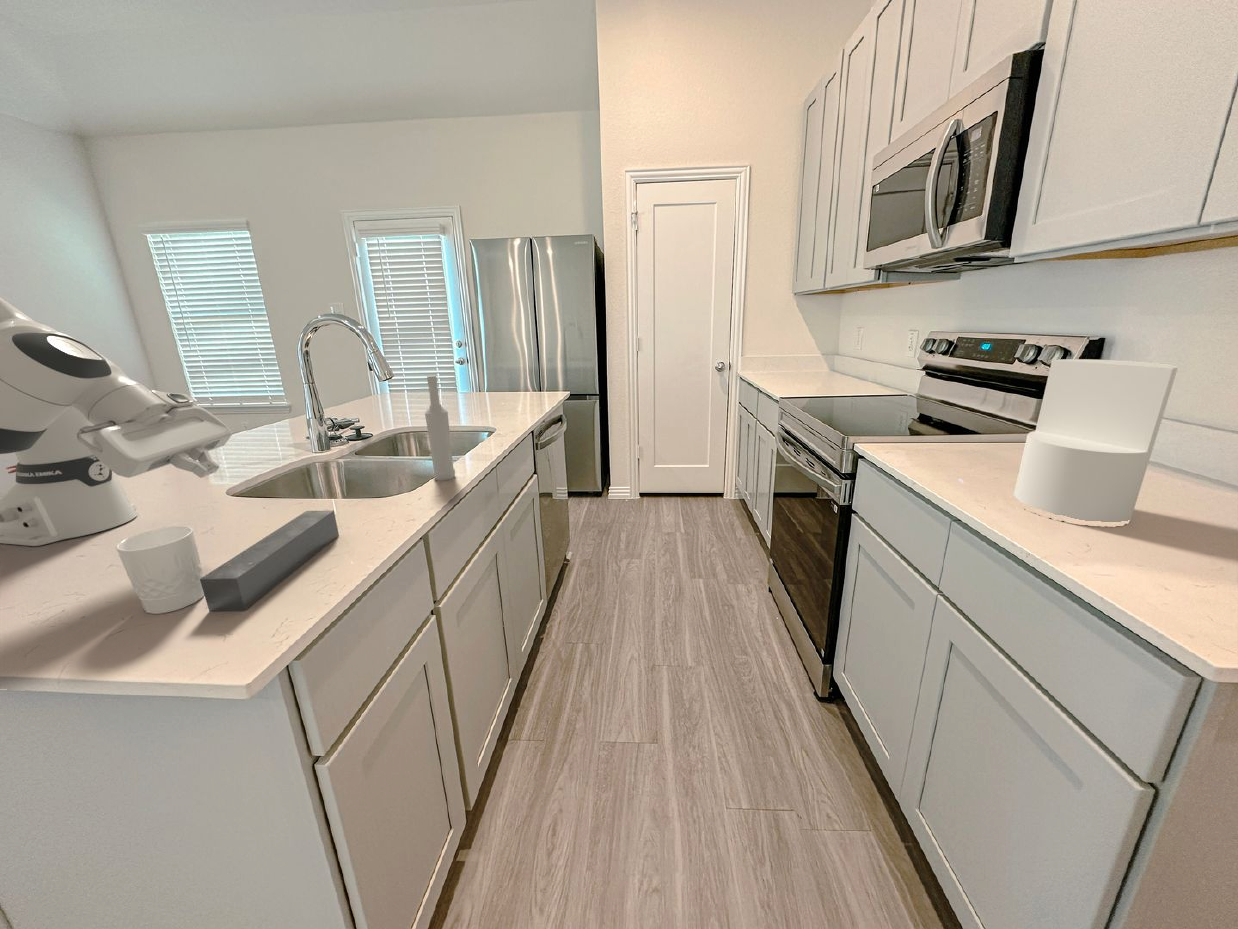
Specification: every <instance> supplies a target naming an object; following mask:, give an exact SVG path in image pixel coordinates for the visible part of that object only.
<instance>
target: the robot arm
mask: <svg viewBox="0 0 1238 929" xmlns="http://www.w3.org/2000/svg"><path fill="white" fill-rule="evenodd" d="M195 403H196V402H195V399H194V398H193V397H192V396H190V395H188V394H186V393H175V392H174V393H173V392H165V391H160V390H156V389H155V390H154V389H149V388H148V387H146V386H145V385H143V384H142V383H140V382H139V381H136V380H133V379H132V378H130V377H129V376H128V375H127V374H126V373H125V372H124V371H123V369H122V368H121V367H120V366H119V365H117V364H116V363H114V362H113V361H112V360H110V358H108V357H106V356H105V355H103V354H102V353H100V352H98V351H97V350H95V349H94V348H92V347H91V346H89V345H87V344H85V343H83V341H81V340H78V339H76V338H75V337H73V336H71V335H69V334H66V333H65V332H60V331H57V330H56V329H54V328H53V327H51V326H49V325H46V324H42V323H39V322H37V321H36V320H34V319H32V318H31V317H30V316H28V315H27V314H26V313H24V312H22V311H21V310H20V309H18V308H17V307H15V306H13V305H12V304H11V303H9V302H8V301H7V300H5V299H3V298H2V297H1V296H0V455H6V454H12V453H13V454H15V456H16V459H17V460H18V462H17V463H16V464H15V465H13V466H12V465H11V466H8V467H6V468H5V469H6V470H9V469H11V470H10V471H8V472H7V473H8V474H13V473H15V484H14V485H13V486H12V487H11V488H10V489H9V490H8V491H7V492H6V493H5V494H3V495H2V496H1V497H0V544H6V545H7V544H8V545H16V546H18V545H19V546H27V547H28V546H31V547H37V546H43V545H47V544H51V543H55V542H60V541H63V540H68V539H74V538H78V537H83V536H87V535H91V534H95V533H98V532H99V533H100V532H103V531H107V530H110V529H113V528H116V527H118V526H121V525H123V524H125V523H128V522H130V521H131V520H133V519H134V518H136V517H137V516H138V512H137V510H136V508H137V507H136V504H135V502H130V500H129V497H128V495H127V493H126V490H125V489H124V487H123V484H122V483H121V481H120V479H119V477H118V476H120V477H123V478H133V477H136V476H137V477H138V476H139V475H142V474H146V473H148V472H152V471H155V470H156V469H161V468H163V467H165V466H168V465H172V466H174V467H175V468H176V469H180V470H182V471H187V472H189V473H190V472H191V473H193V474H194V475H196V476H197V477H198V478H200V479H201V478H204V477H207V476H210V475H212V474H214V473H216V472H217V471H218V470H219V469H220V465H219V464H218V463H216V461H214V460H212V457H211V455H210V453H209V452H210V451H213V450H217V449H218V448H221V447H222V448H223V447H224V446H225V445H226V444H227V443H228V441H229V440H230V438H231V437H232V435H233V433H232V430H231V428H230V427H229V426H228V425H227V424H226V423H224V422H223V421H222V420H221V419H219V417H217V416H216V415H214V414H213V413H212V412H210V411H208V410H207V409H206V408H203V407H201V406H199V405H195Z"/></svg>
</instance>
